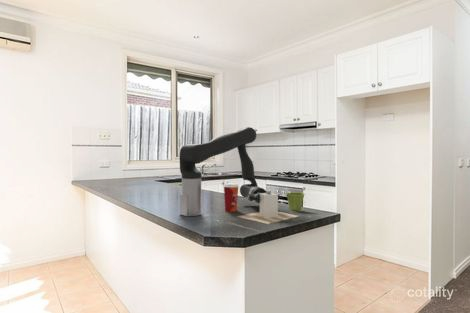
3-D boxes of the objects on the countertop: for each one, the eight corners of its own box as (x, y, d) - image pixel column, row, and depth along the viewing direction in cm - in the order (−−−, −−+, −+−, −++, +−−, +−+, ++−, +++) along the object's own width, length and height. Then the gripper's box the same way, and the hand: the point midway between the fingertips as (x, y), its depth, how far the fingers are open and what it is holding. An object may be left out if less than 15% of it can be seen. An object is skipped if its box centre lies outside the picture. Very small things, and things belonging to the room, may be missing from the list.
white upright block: (264, 218, 125) (264, 192, 125) (259, 214, 131) (259, 190, 131) (277, 217, 126) (277, 192, 126) (272, 214, 132) (272, 190, 132)
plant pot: (297, 213, 139) (297, 195, 139) (282, 210, 146) (282, 193, 146) (308, 210, 145) (308, 193, 145) (293, 208, 152) (293, 191, 152)
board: (267, 225, 114) (267, 223, 114) (237, 218, 128) (237, 216, 128) (299, 217, 129) (299, 215, 129) (269, 211, 143) (269, 210, 143)
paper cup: (237, 213, 137) (237, 184, 137) (221, 213, 138) (221, 184, 138) (240, 210, 144) (240, 183, 144) (225, 210, 146) (225, 182, 146)
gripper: (244, 187, 143) (253, 191, 127) (271, 186, 146) (283, 190, 130) (244, 202, 143) (252, 208, 127) (271, 201, 146) (282, 207, 130)
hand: (268, 199), depth 129 cm, fingers open, 8 cm apart
